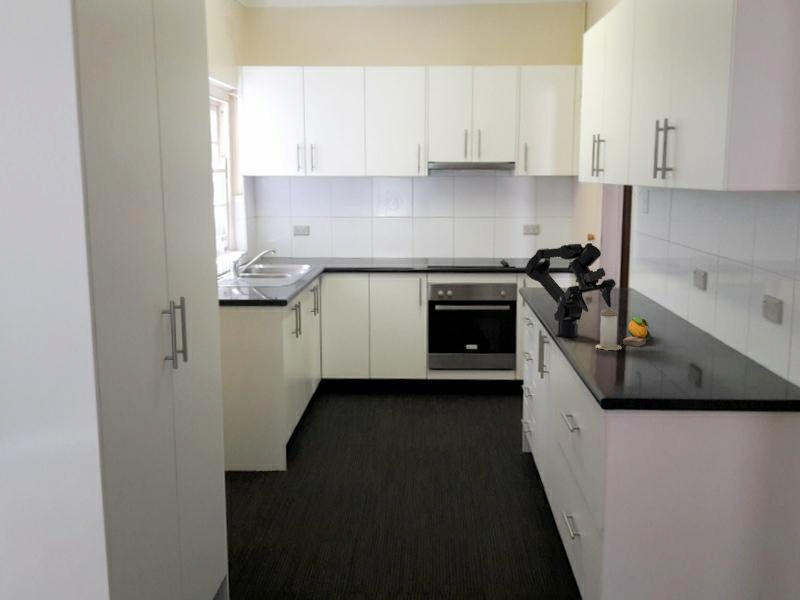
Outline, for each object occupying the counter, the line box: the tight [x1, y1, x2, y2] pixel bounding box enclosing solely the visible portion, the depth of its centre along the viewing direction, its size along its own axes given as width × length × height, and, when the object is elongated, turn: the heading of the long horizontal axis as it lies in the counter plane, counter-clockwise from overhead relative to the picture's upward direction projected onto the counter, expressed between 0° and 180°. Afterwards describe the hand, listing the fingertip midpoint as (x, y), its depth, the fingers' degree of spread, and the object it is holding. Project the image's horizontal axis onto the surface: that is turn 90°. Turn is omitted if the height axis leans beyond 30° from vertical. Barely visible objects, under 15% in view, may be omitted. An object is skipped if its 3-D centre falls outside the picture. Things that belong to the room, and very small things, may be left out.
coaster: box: [595, 343, 622, 351], centre depth 297 cm, size 9×9×1 cm
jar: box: [599, 308, 618, 348], centre depth 296 cm, size 6×6×13 cm
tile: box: [622, 336, 647, 347], centre depth 302 cm, size 6×6×2 cm
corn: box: [628, 316, 651, 341], centre depth 311 cm, size 7×8×20 cm
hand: (598, 309), depth 300 cm, fingers open, 9 cm apart
